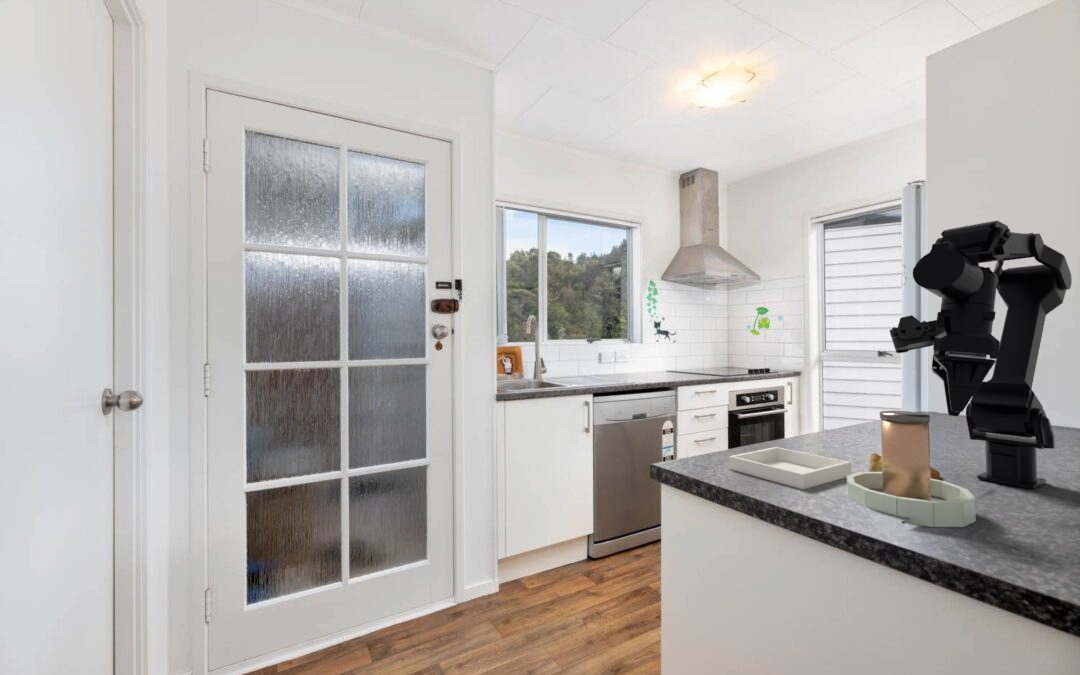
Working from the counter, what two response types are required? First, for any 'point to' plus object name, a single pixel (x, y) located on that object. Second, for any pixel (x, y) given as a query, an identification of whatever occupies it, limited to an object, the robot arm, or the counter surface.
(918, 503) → the bowl
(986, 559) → the counter surface
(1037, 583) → the counter surface
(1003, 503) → the counter surface
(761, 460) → the tray
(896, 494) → the canister
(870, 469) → the pastry
